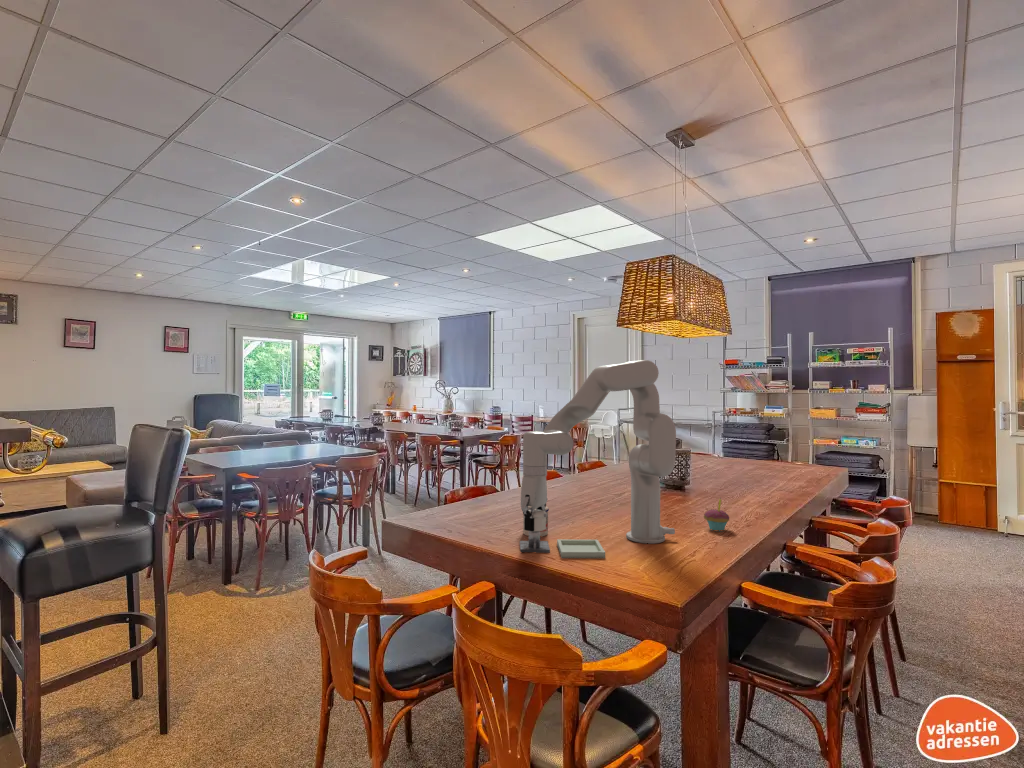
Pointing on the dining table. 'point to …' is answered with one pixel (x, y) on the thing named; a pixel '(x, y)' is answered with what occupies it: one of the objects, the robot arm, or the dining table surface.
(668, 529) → the robot arm
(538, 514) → the white earbud case
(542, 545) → the post stand
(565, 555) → the tray
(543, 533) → the teacup with lid
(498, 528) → the dining table surface
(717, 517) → the cupcake
